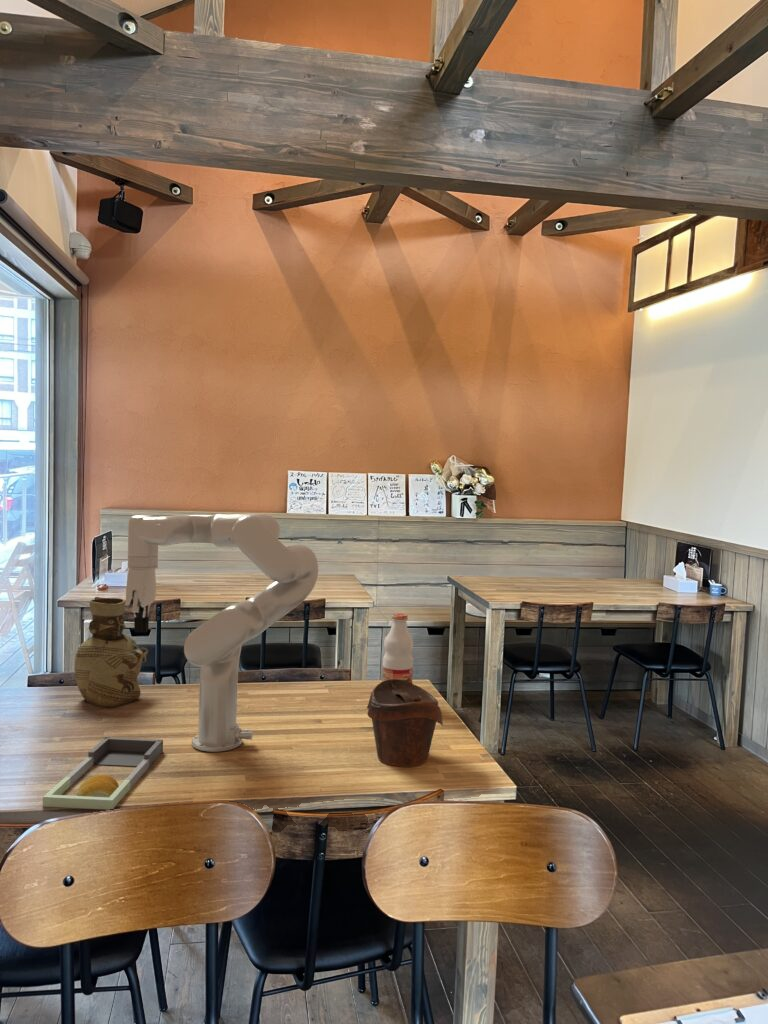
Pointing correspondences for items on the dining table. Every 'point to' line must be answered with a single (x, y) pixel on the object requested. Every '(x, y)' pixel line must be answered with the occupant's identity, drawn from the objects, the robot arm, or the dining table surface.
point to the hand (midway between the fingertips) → (141, 631)
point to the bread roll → (98, 786)
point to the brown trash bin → (403, 722)
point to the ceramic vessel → (108, 657)
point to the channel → (107, 754)
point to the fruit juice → (398, 651)
